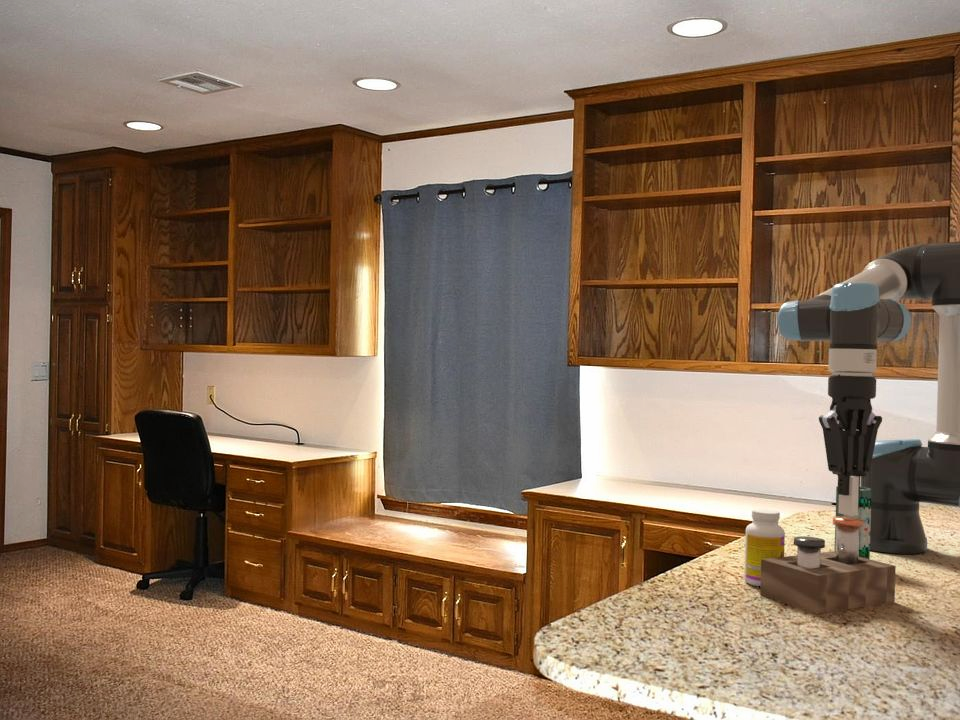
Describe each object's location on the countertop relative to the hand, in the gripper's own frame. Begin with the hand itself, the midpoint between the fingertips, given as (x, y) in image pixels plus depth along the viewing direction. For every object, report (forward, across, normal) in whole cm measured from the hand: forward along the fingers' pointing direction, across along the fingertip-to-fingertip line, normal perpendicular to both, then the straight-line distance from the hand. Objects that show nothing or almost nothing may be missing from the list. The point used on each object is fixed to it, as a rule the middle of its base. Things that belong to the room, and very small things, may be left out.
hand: (847, 514), depth 152 cm
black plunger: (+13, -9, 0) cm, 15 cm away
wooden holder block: (+14, -4, 0) cm, 14 cm away
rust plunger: (+10, 0, 0) cm, 10 cm away
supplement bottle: (+14, -7, +12) cm, 20 cm away
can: (+14, +21, +16) cm, 30 cm away
